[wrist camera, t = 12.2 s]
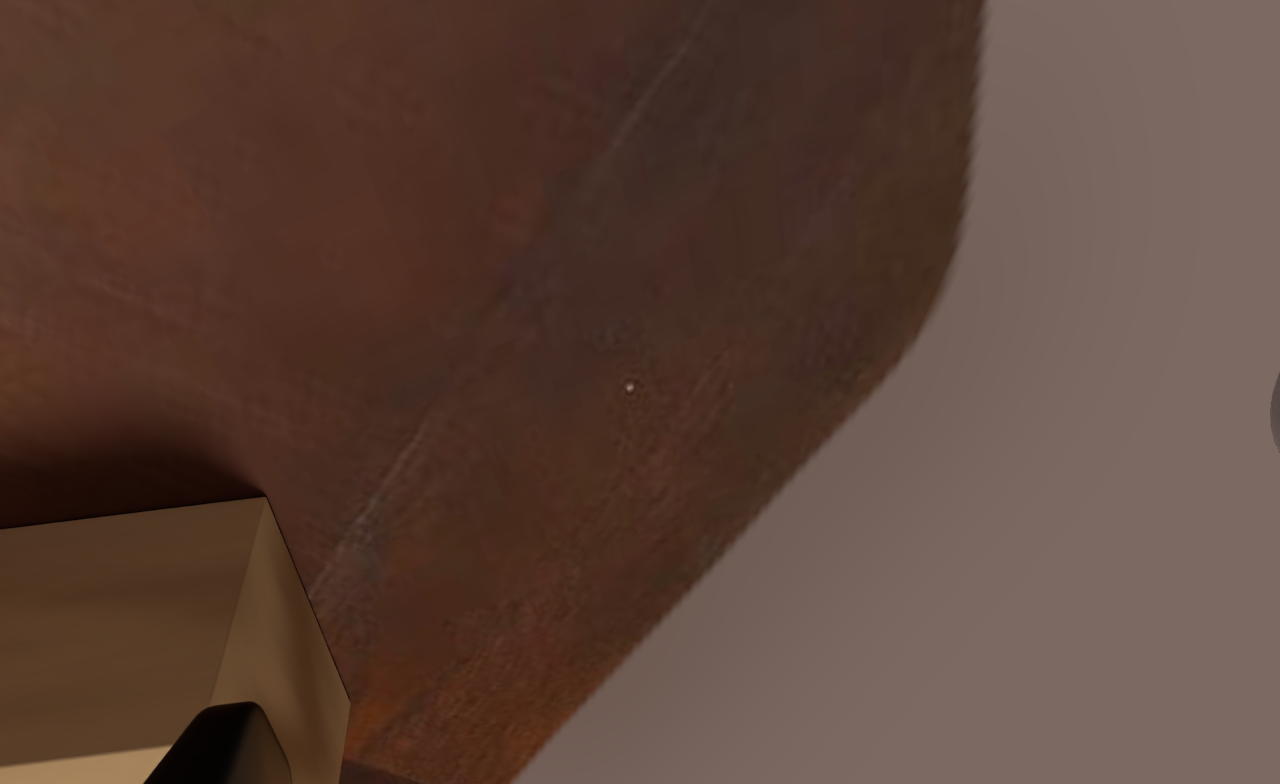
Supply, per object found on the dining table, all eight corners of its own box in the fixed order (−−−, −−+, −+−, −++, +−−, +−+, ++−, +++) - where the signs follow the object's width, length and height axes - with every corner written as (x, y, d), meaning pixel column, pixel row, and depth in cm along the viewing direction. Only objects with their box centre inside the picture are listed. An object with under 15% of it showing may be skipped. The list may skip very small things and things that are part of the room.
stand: (351, 703, 27) (314, 947, 23) (108, 733, 27) (20, 985, 22) (266, 495, 23) (199, 742, 18) (-23, 531, 23) (-165, 788, 18)
